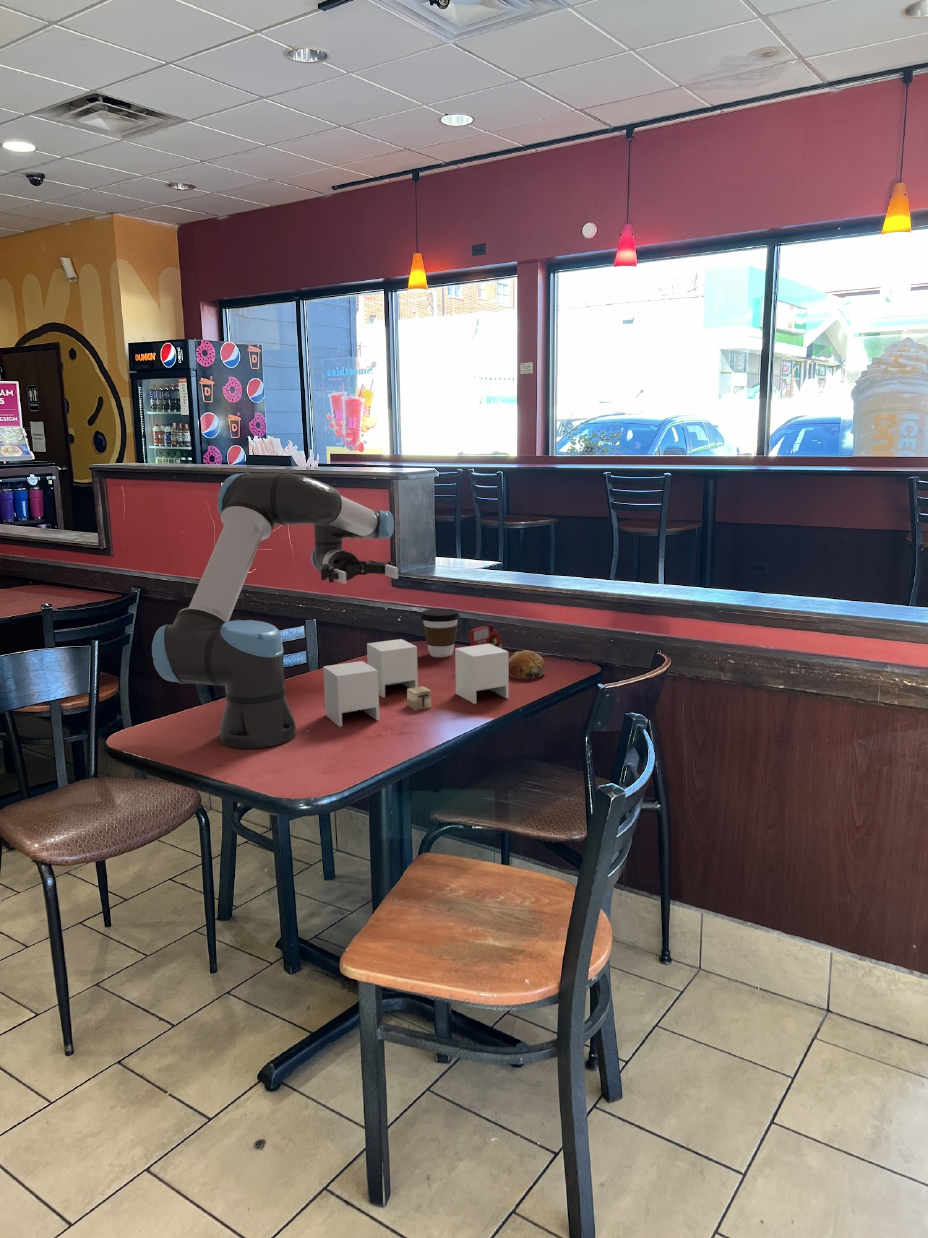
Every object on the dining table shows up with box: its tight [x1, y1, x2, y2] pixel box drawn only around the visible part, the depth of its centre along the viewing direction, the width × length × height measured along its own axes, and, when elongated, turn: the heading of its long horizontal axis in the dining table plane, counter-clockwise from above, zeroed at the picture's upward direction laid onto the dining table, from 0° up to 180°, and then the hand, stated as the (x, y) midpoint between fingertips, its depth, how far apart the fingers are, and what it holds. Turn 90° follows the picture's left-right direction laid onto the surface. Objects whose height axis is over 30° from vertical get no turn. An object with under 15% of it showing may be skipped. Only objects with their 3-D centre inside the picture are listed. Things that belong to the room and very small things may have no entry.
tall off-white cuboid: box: [366, 638, 419, 698], centre depth 211 cm, size 9×9×11 cm
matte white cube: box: [322, 660, 380, 728], centre depth 191 cm, size 9×9×11 cm
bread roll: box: [508, 649, 546, 680], centre depth 224 cm, size 10×10×8 cm
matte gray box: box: [454, 644, 510, 705], centre depth 205 cm, size 9×9×11 cm
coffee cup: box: [420, 608, 461, 658], centre depth 244 cm, size 11×11×12 cm
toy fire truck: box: [468, 623, 505, 650], centre depth 234 cm, size 7×12×10 cm, turn 140°
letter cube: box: [406, 686, 432, 711], centre depth 199 cm, size 4×4×4 cm
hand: (371, 575), depth 217 cm, fingers open, 13 cm apart
